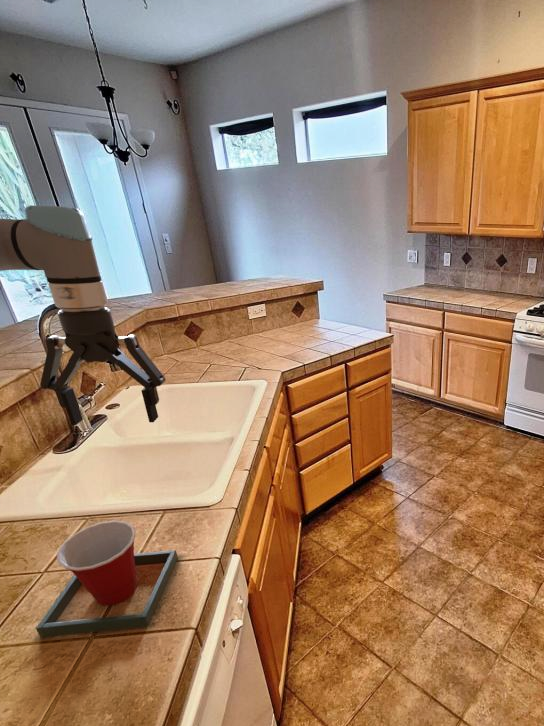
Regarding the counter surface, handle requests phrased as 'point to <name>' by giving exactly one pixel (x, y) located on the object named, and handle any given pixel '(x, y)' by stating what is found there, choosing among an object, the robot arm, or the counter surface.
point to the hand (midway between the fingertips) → (116, 421)
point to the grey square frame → (52, 628)
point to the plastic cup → (102, 560)
